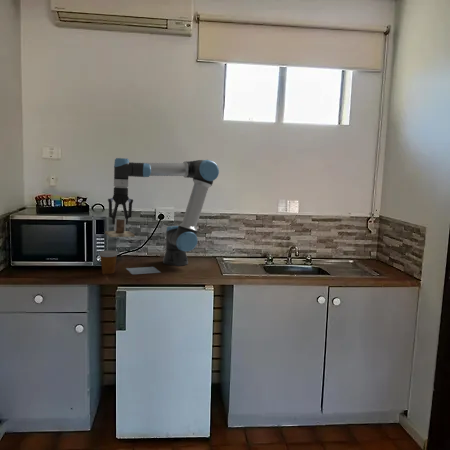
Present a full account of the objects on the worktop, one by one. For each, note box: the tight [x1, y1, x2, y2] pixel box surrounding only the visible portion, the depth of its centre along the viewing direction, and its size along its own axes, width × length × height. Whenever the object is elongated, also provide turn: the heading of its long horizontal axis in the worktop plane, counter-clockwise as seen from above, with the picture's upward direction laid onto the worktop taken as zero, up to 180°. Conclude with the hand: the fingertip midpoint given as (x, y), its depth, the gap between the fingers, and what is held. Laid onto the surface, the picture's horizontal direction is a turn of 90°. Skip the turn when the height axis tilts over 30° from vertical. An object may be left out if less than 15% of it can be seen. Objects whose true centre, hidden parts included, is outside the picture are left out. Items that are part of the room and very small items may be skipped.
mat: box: [125, 266, 162, 275], centre depth 262 cm, size 16×15×1 cm
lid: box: [104, 219, 136, 238], centre depth 254 cm, size 13×13×8 cm
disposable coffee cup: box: [99, 249, 118, 275], centre depth 254 cm, size 10×10×12 cm
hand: (119, 230), depth 254 cm, fingers closed on lid, 4 cm apart
